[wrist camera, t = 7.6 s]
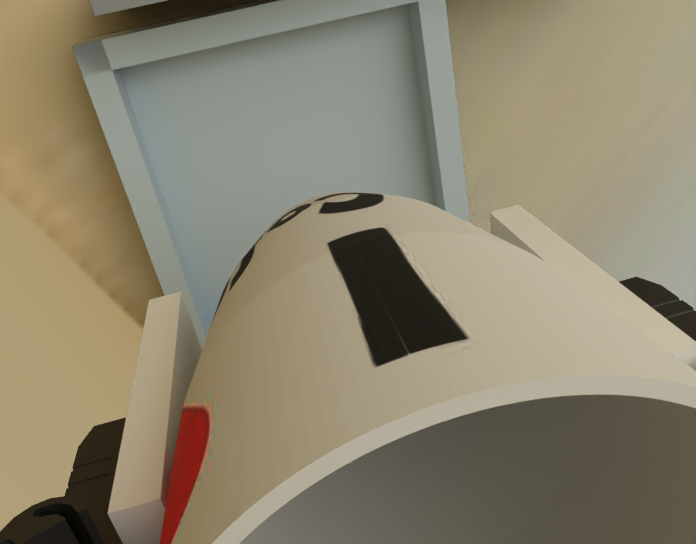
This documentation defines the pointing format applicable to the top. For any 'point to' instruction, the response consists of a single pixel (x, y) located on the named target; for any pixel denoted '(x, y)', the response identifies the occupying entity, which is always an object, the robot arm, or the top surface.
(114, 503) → the robot arm
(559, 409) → the cup
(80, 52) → the tray
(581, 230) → the top surface
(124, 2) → the holder
